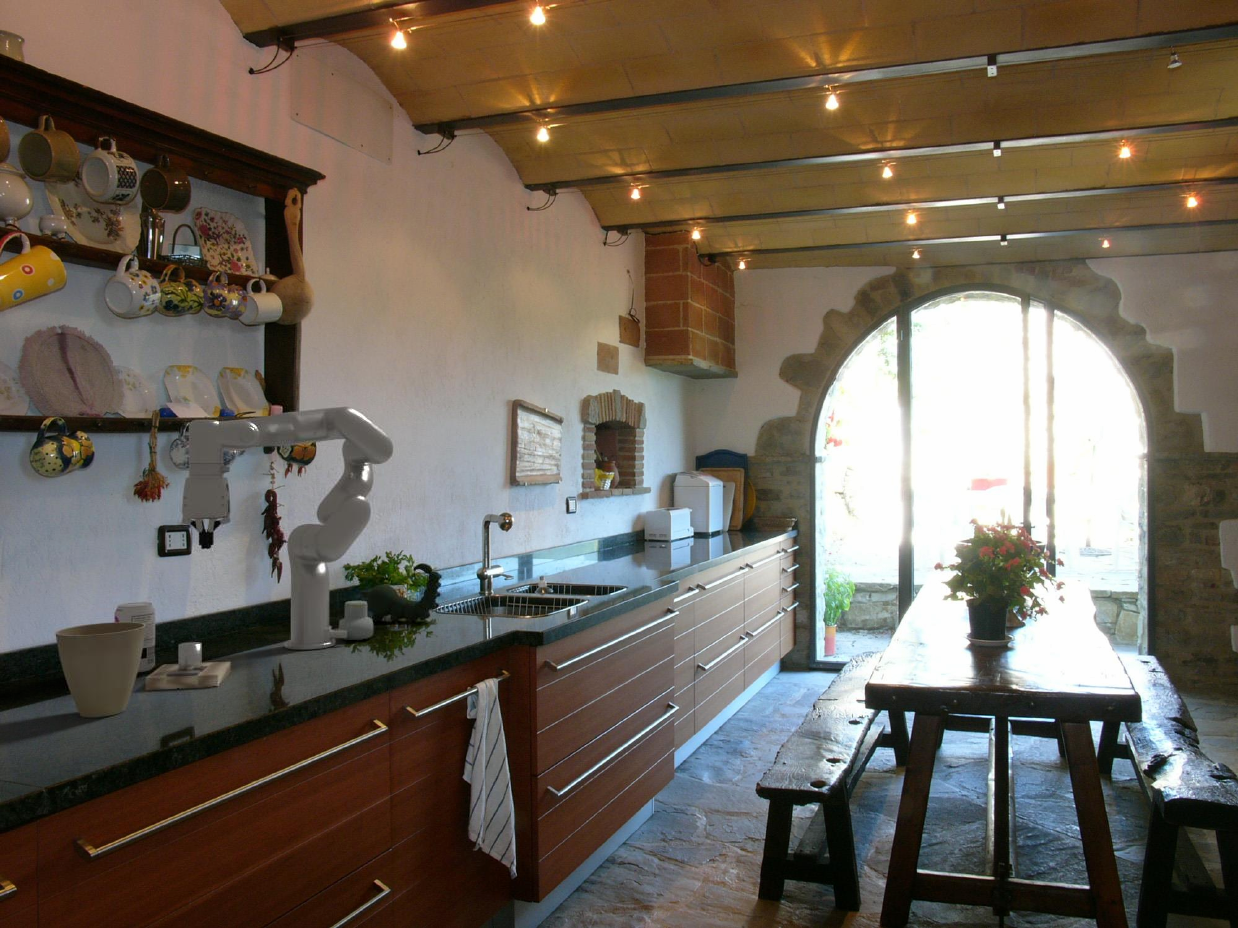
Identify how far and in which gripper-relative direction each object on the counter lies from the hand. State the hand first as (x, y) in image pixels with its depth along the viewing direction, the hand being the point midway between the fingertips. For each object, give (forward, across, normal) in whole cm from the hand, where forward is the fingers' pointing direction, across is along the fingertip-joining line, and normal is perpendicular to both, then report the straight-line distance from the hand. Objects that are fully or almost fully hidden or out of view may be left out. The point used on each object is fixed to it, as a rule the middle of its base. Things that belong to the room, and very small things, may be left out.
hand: (206, 548), depth 223 cm
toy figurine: (+28, -44, -51) cm, 73 cm away
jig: (+27, -1, +21) cm, 34 cm away
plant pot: (+27, +9, +46) cm, 54 cm away
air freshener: (+27, -33, -24) cm, 49 cm away
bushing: (+27, -1, +21) cm, 34 cm away
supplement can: (+27, +14, +6) cm, 31 cm away
